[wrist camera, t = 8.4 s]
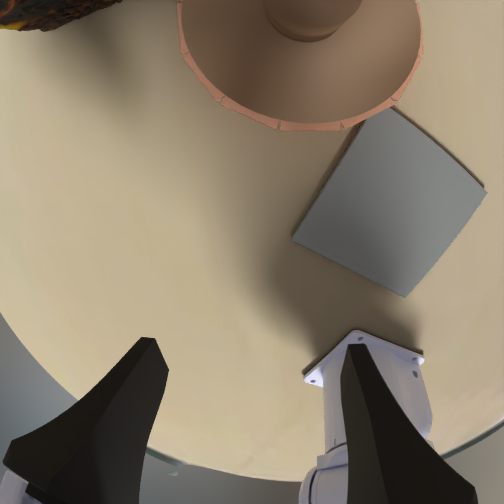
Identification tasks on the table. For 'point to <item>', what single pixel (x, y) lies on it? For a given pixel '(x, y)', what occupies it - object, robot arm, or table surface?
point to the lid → (304, 53)
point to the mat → (390, 204)
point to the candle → (46, 12)
